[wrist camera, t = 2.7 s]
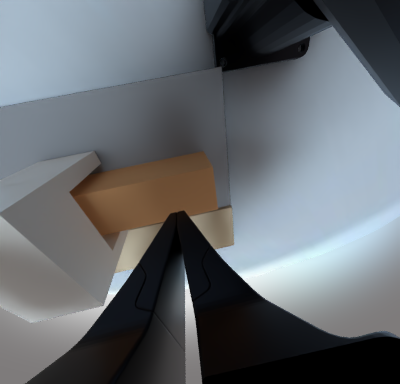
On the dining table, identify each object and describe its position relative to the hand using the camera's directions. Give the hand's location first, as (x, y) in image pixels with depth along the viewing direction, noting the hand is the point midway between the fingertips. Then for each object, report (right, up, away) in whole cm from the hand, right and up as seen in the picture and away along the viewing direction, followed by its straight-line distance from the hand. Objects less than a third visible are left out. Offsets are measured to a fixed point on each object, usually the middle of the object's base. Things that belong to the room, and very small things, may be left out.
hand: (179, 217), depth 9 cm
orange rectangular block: (-4, +2, +5) cm, 6 cm away
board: (-5, +1, +6) cm, 8 cm away
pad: (-3, -4, +9) cm, 10 cm away
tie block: (-8, +1, +4) cm, 9 cm away
